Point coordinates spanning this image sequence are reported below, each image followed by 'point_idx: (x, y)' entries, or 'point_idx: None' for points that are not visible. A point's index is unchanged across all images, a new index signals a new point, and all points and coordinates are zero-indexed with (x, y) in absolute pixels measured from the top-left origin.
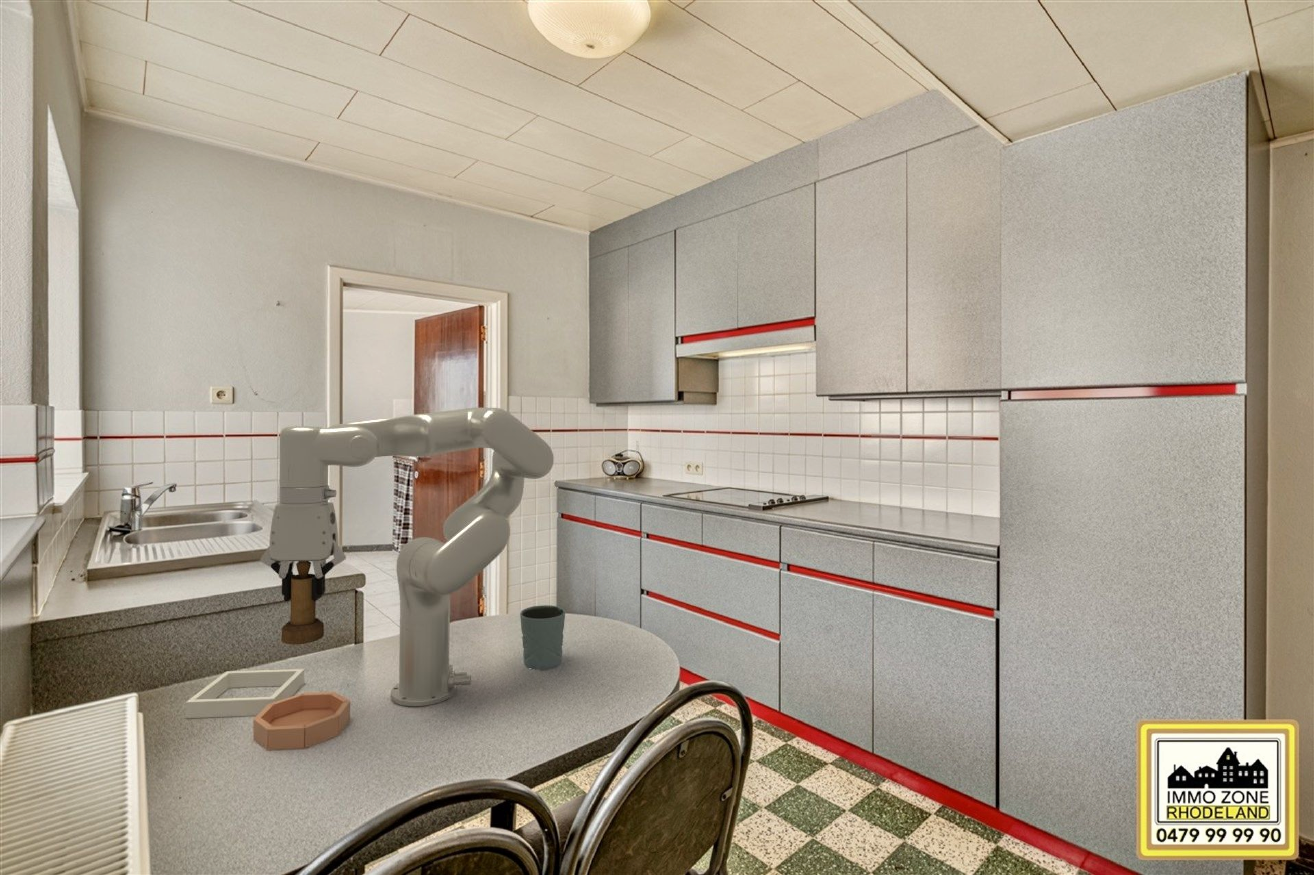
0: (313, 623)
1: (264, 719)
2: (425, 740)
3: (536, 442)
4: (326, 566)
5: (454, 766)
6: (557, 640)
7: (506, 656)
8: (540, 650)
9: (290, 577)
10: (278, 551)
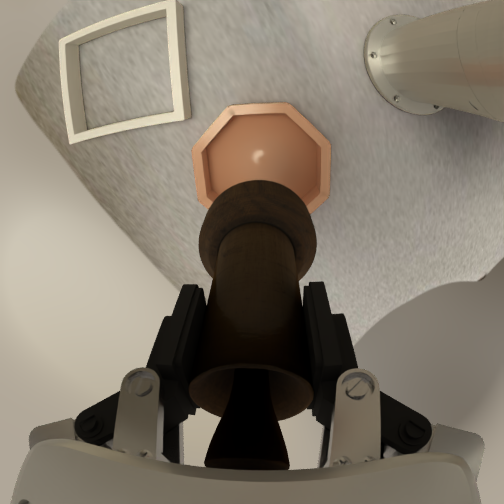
0: (297, 271)
1: (206, 181)
2: (428, 211)
3: None
4: (381, 450)
5: (447, 264)
6: None
7: None
8: None
9: (187, 396)
10: None
